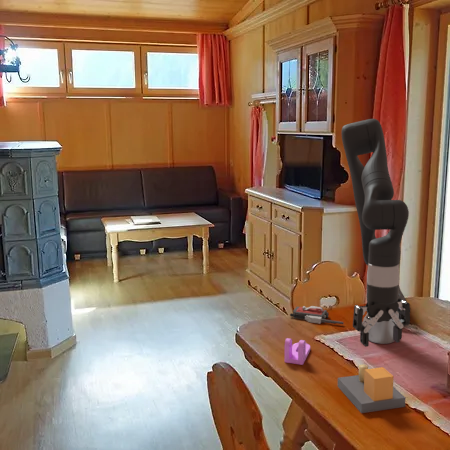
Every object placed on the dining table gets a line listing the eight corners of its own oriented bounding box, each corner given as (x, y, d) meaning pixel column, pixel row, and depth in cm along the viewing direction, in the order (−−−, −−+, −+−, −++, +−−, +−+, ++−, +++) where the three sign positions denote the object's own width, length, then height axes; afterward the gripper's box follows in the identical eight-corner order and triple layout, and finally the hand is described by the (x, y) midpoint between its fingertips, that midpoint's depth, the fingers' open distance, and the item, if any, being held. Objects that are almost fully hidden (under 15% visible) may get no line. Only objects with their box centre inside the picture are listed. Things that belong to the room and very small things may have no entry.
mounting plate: (377, 380, 147) (378, 359, 146) (405, 406, 134) (406, 382, 132) (337, 386, 145) (338, 364, 143) (361, 413, 131) (362, 389, 130)
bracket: (302, 365, 158) (302, 343, 156) (284, 362, 160) (284, 341, 158) (311, 347, 170) (312, 327, 168) (294, 345, 172) (294, 325, 170)
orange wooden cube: (382, 388, 138) (382, 367, 137) (392, 398, 133) (393, 376, 132) (363, 391, 137) (364, 369, 136) (373, 401, 132) (374, 378, 131)
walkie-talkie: (287, 320, 194) (342, 328, 186) (287, 309, 193) (343, 316, 185) (294, 312, 201) (347, 319, 193) (294, 301, 201) (348, 308, 193)
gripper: (400, 274, 134) (398, 334, 137) (348, 279, 131) (347, 340, 134) (417, 282, 127) (414, 346, 130) (363, 288, 124) (361, 353, 127)
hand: (380, 343), depth 132 cm, fingers open, 8 cm apart
